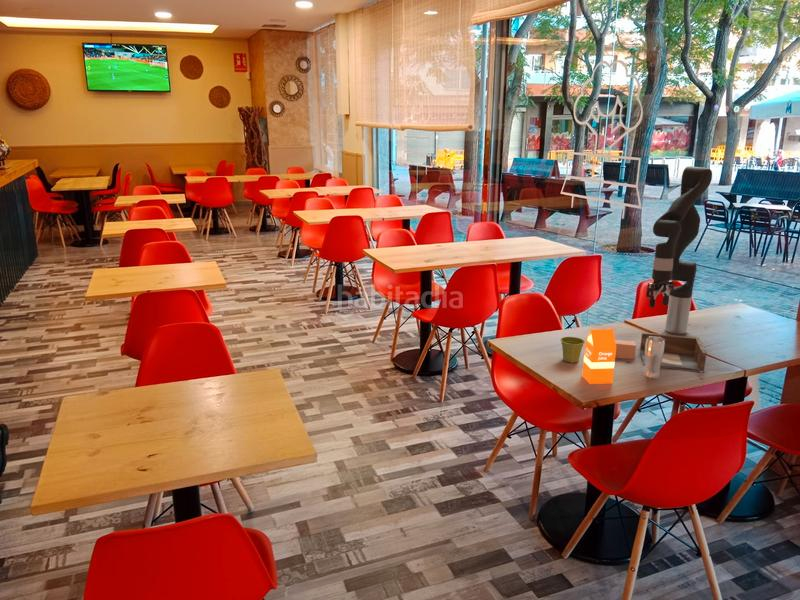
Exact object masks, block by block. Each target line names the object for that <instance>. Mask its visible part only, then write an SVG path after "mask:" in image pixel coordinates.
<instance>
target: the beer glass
mask: <svg viewBox="0 0 800 600" xmlns="http://www.w3.org/2000/svg"><path fill="white" fill-rule="evenodd" d="M664 351H665V339H664V338H662V337H658V336H648V337H647V340H646V344H645V366H644V367H643V368H644V369H643V371H642V376H643V377H645V378H647V379H651V378H652V379H651V380H655V379H660V376H661V373H660V372H661V371H660V370H661V367H660V365H661V362H662V359H663V356H664Z"/></svg>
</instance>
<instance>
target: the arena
mask: <svg viewBox="0 0 800 600" xmlns="http://www.w3.org/2000/svg"><path fill="white" fill-rule="evenodd" d="M648 336H658V337H662V338H664V339H665V351H664V356H663V359H662V362H661V365H660V368H661V367H662V368H663V369H673V370H680V369H681V371H682V370H683V371H691V372H692V371H693V372H698V371H703V372H702V373H704V372H705V366H706V361H707V358H706V357H707V351H706V349H705V347H704V345H703V343H702V341H701V339H700V338H699V337H694V336H683V335H673V334H661V333H651V332H643V331H642V333H641V340H640V347H639V348H640V349H639V352H640V356H641V362H642V364H643V366H644V367H645V344H646V340H647V337H648ZM662 368H661V369H662Z"/></svg>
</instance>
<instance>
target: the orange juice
mask: <svg viewBox="0 0 800 600" xmlns="http://www.w3.org/2000/svg"><path fill="white" fill-rule="evenodd" d="M615 340H616V338H615V330H614V329H613V328H603V329H602V328H599V329H596V328H594V329H590V331H589V332H588V334H587V336H586V339H585V343H584V345H585V346H584V355H583V362H582V363H583V364H582V365H583V366H582V373H581V376H582V377H583V378H584V379H585V381H586V382H587V381H588V382H587V383H588V384H589V385H595V384H596V385H597V384H599V385H600V384H601V385H603V384H613V381H614V380H613V379H614V373H615V372H614V370H615V364H616V363H615V360H616V357H615V354H616V342H615Z"/></svg>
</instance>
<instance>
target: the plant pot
mask: <svg viewBox="0 0 800 600" xmlns="http://www.w3.org/2000/svg"><path fill="white" fill-rule="evenodd" d="M560 342H561V346H562V347H561V348H562V360H563V361H564V362H567V363H569V362H570V363H571V364H576V363H577V362H579V361H580V357H581V353H582V349H583V346H584V345H585V342H586V340H584V339H582V338H580V337H575V336H564V337H560Z"/></svg>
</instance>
